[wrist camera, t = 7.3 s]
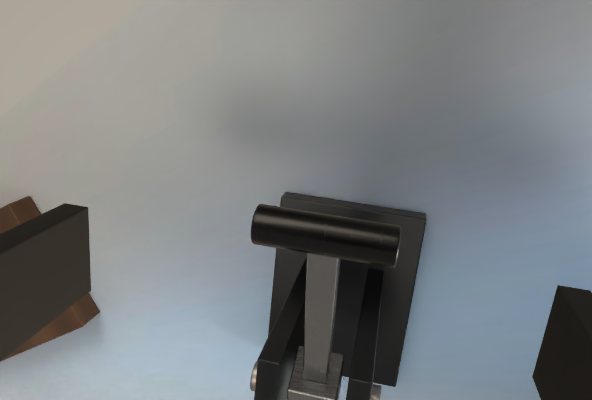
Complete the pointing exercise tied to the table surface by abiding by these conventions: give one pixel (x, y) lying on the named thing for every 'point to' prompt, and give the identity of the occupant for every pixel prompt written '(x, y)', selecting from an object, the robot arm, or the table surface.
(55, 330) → the button block
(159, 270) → the table surface
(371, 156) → the table surface
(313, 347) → the lever
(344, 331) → the bracket
